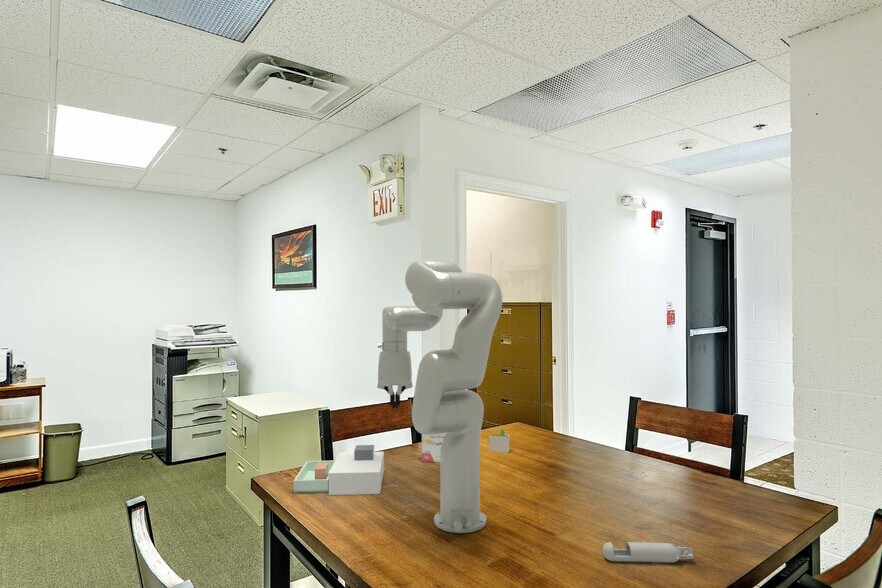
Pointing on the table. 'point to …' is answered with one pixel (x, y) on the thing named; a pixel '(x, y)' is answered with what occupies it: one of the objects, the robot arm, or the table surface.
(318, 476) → the terracotta tile
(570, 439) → the table surface
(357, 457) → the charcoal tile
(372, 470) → the white box
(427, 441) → the ink cartridge box
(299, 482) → the green bin
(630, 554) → the slotted grey cylinder
